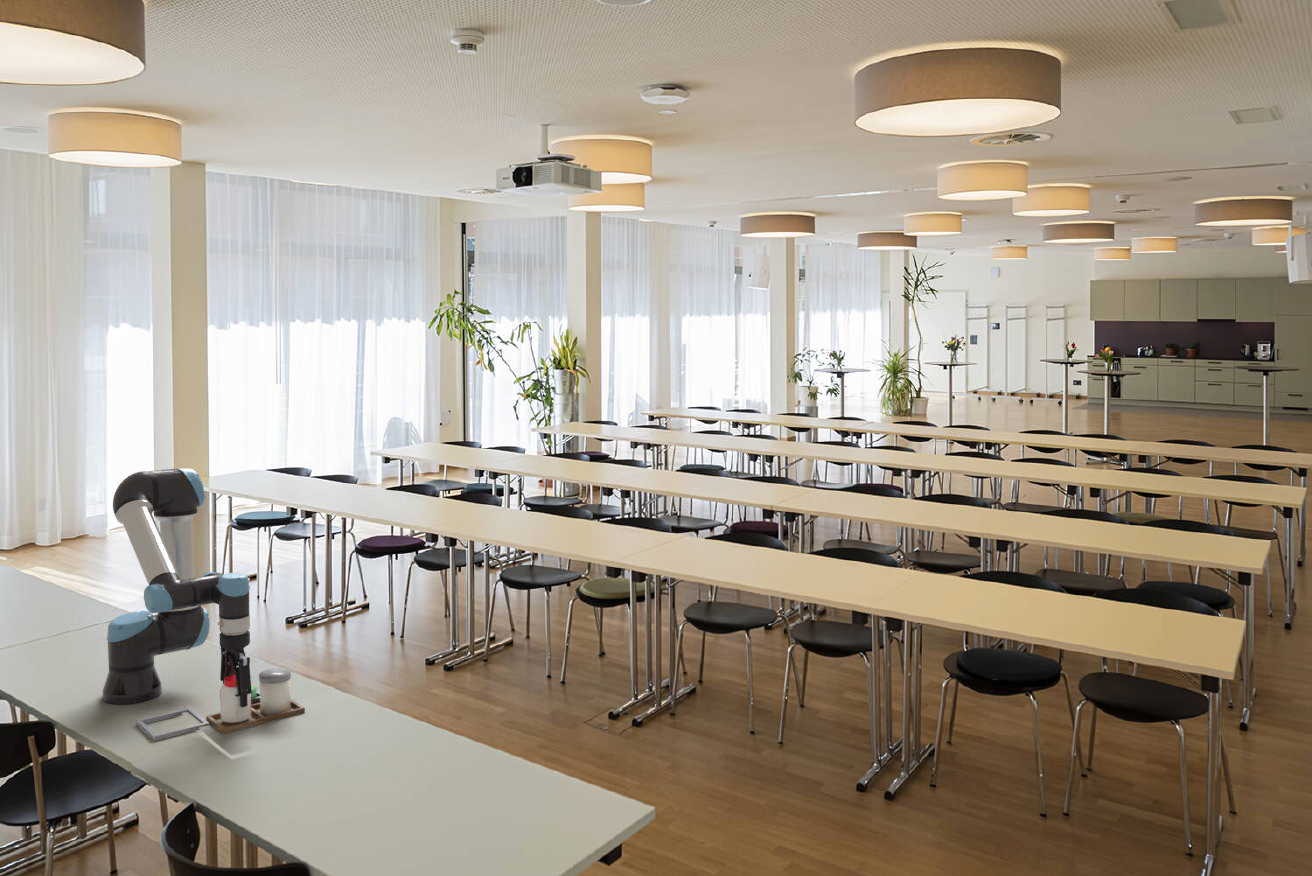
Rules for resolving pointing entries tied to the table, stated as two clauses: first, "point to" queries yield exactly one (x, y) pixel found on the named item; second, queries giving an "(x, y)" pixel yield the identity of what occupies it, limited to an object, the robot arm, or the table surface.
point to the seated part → (275, 691)
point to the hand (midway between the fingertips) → (236, 712)
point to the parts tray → (154, 736)
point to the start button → (253, 691)
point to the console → (256, 698)
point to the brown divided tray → (252, 718)
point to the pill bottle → (231, 701)
